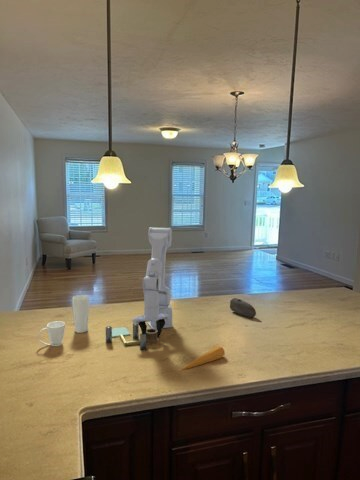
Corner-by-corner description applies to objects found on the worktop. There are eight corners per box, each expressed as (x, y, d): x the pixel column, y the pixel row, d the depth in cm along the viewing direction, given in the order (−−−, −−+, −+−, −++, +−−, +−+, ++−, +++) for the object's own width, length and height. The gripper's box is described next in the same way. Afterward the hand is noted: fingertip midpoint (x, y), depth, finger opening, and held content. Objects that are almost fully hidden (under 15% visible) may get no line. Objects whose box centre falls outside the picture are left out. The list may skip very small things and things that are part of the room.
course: (137, 335, 150) (137, 321, 149) (147, 349, 136) (147, 335, 135) (104, 339, 145) (104, 325, 144) (111, 355, 131) (111, 340, 130)
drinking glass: (85, 334, 149) (84, 300, 147) (70, 333, 150) (69, 298, 148) (92, 328, 156) (91, 295, 153) (77, 327, 157) (77, 294, 155)
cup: (67, 345, 139) (67, 325, 138) (40, 350, 134) (39, 330, 133) (63, 338, 145) (63, 319, 144) (37, 343, 140) (36, 323, 139)
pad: (125, 328, 157) (125, 327, 157) (130, 335, 150) (130, 333, 150) (107, 330, 154) (107, 329, 154) (110, 337, 147) (110, 336, 147)
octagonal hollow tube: (155, 338, 147) (155, 327, 146) (159, 343, 142) (159, 332, 142) (143, 340, 145) (143, 329, 145) (147, 345, 141) (147, 334, 140)
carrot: (220, 356, 134) (217, 344, 135) (228, 356, 131) (224, 344, 131) (177, 377, 123) (173, 364, 124) (184, 377, 119) (180, 364, 120)
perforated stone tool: (258, 318, 172) (259, 304, 171) (251, 320, 169) (252, 306, 168) (235, 309, 184) (236, 296, 183) (228, 311, 181) (229, 298, 180)
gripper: (136, 310, 135) (136, 344, 137) (172, 306, 141) (171, 339, 143) (131, 305, 142) (131, 337, 144) (166, 301, 147) (165, 333, 149)
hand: (151, 338), depth 144 cm, fingers closed on octagonal hollow tube, 5 cm apart
